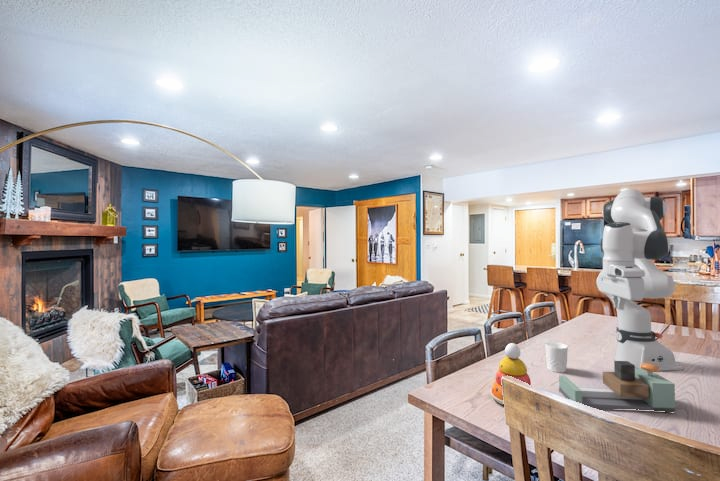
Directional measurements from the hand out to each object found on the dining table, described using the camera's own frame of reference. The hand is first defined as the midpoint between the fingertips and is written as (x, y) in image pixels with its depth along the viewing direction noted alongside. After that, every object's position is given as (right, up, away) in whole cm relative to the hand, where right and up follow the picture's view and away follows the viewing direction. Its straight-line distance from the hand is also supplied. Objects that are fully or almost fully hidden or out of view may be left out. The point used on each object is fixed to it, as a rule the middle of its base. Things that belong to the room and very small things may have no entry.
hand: (619, 308), depth 116 cm
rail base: (-6, -29, -6) cm, 31 cm away
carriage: (-3, -25, -6) cm, 26 cm away
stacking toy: (-38, -30, -4) cm, 49 cm away
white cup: (-9, -29, +21) cm, 37 cm away
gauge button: (+4, -20, -7) cm, 22 cm away
